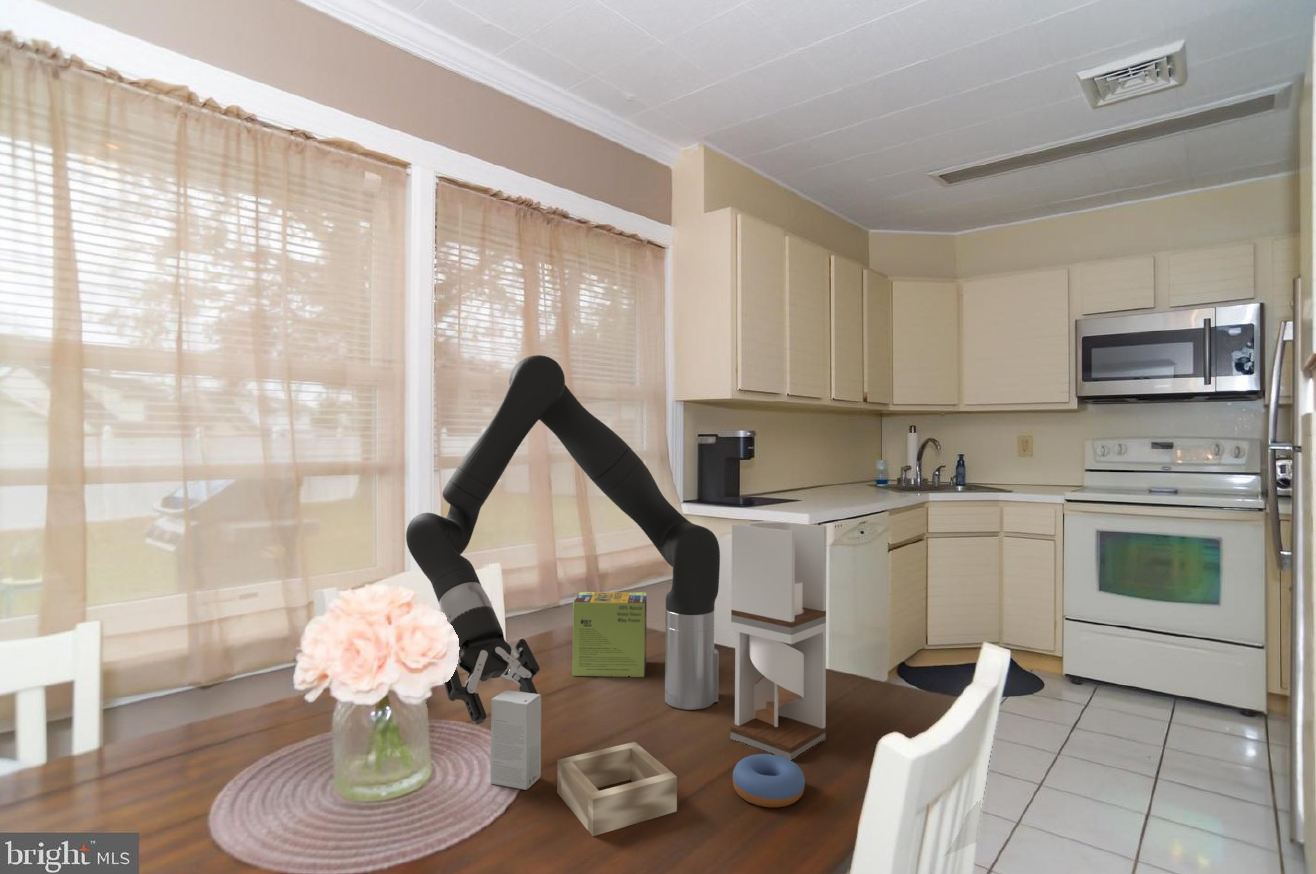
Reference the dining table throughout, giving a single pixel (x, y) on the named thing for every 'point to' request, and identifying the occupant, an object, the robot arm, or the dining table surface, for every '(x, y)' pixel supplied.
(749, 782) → the doughnut
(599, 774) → the frame
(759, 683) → the white shelf tower
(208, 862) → the dining table surface
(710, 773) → the dining table surface
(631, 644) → the protein box
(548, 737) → the dining table surface
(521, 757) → the skincare box
